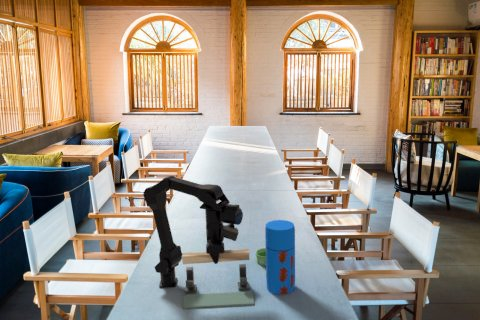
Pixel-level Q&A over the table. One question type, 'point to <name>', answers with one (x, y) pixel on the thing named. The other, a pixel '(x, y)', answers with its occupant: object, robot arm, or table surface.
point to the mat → (218, 299)
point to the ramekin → (261, 256)
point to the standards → (192, 287)
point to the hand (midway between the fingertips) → (216, 261)
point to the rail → (223, 257)
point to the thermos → (280, 256)
